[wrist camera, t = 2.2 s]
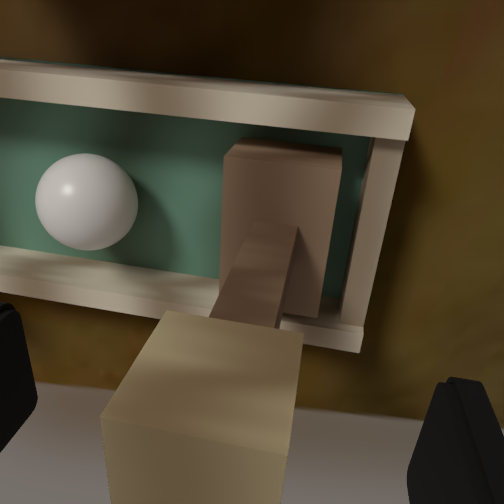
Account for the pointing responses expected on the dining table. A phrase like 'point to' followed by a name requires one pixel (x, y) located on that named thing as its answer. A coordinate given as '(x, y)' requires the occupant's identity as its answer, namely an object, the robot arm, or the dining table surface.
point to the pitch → (186, 184)
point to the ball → (86, 201)
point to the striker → (231, 344)
